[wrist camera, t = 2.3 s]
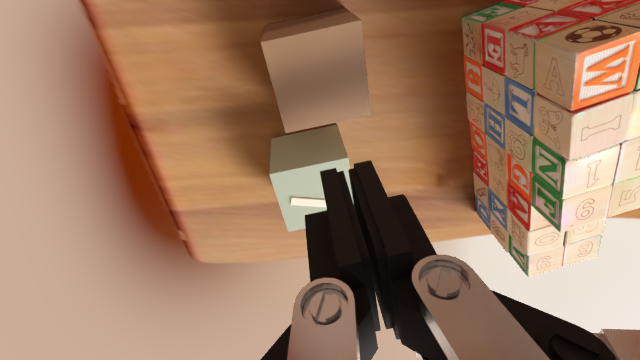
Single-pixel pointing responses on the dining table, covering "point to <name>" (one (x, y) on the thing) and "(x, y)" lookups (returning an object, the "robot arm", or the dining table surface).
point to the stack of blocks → (553, 123)
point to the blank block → (317, 69)
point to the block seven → (305, 171)
